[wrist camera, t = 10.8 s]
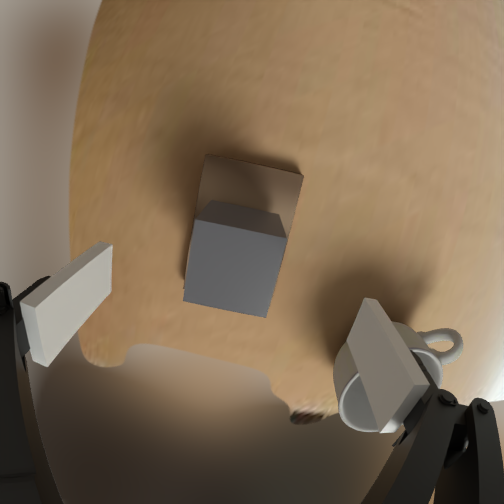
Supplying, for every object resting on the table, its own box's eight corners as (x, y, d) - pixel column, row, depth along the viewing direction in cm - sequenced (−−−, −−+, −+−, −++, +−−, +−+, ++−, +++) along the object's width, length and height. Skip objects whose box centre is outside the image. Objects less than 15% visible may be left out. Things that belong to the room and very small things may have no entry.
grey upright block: (211, 199, 24) (195, 219, 17) (279, 214, 24) (287, 238, 18) (200, 263, 25) (183, 300, 19) (263, 276, 26) (265, 317, 19)
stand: (207, 154, 24) (186, 157, 17) (301, 174, 25) (322, 186, 17) (185, 283, 28) (163, 331, 21) (269, 300, 29) (273, 353, 21)
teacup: (336, 395, 33) (350, 445, 26) (313, 329, 30) (327, 383, 22) (437, 351, 31) (466, 392, 24) (432, 280, 28) (473, 317, 21)
